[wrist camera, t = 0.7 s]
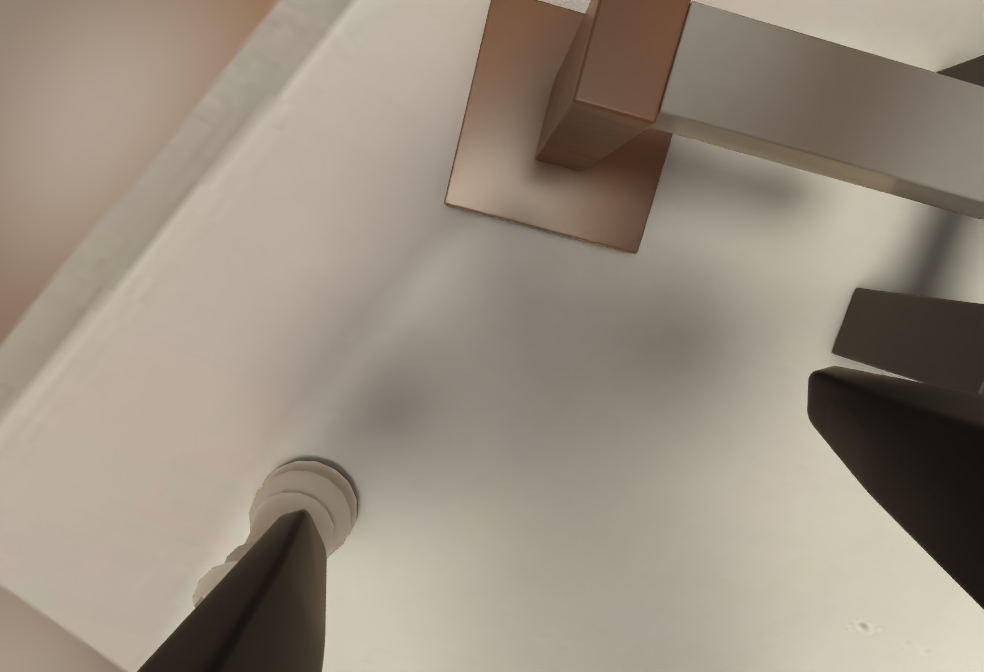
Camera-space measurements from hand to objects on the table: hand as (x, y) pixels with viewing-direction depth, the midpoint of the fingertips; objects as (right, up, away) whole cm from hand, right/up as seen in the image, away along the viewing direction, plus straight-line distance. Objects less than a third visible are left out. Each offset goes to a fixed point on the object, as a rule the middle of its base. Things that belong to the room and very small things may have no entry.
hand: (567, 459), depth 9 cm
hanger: (+5, +10, +13) cm, 17 cm away
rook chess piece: (-10, -5, +15) cm, 19 cm away
